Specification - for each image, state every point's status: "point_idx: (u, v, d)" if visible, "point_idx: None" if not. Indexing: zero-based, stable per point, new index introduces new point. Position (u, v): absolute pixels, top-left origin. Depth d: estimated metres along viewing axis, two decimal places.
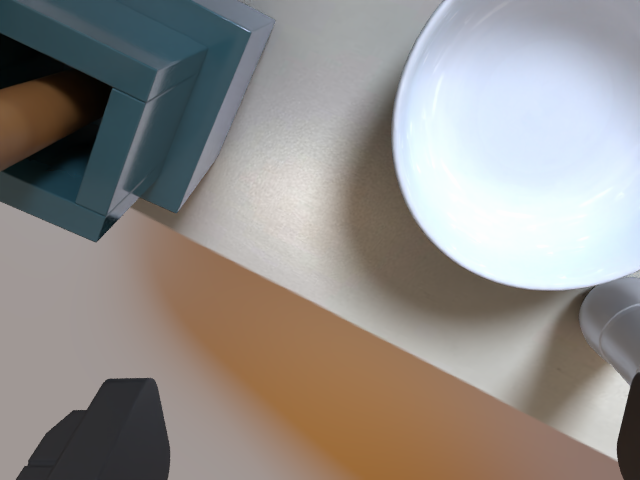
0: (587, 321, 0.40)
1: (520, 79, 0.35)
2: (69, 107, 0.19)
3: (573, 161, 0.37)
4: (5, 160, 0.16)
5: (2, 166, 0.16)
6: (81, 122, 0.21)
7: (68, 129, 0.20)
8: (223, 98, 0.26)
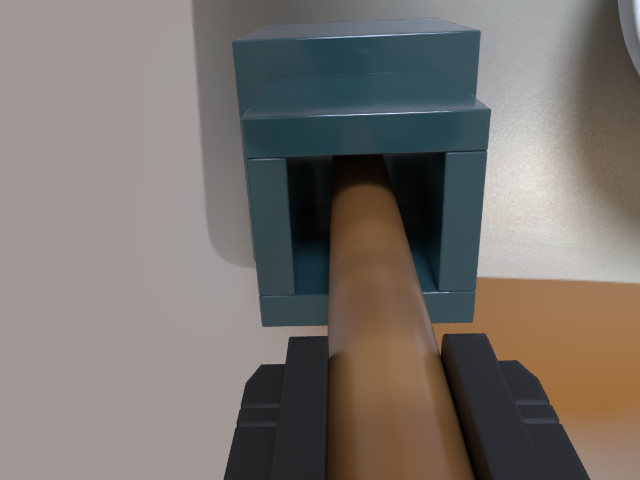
0: None
1: None
2: (393, 197, 0.17)
3: None
4: None
5: None
6: None
7: None
8: None
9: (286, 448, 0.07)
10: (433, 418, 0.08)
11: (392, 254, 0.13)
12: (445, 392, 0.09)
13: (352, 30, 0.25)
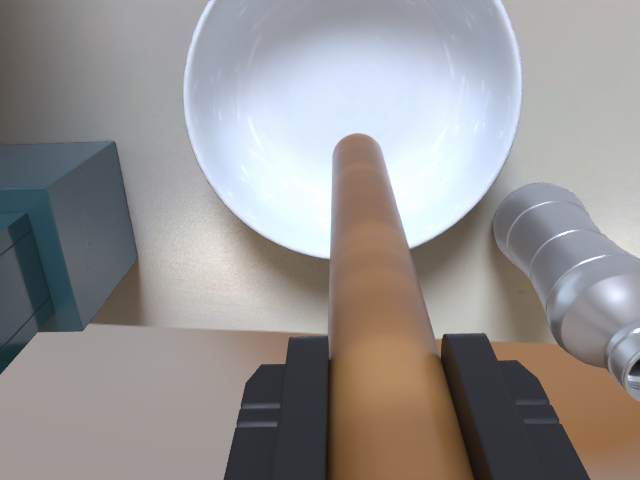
0: (498, 245, 0.41)
1: (313, 84, 0.39)
2: (393, 199, 0.17)
3: (402, 121, 0.40)
4: None
5: None
6: None
7: None
8: (58, 239, 0.33)
9: (286, 448, 0.07)
10: (432, 421, 0.08)
11: (392, 256, 0.13)
12: (445, 395, 0.09)
13: None
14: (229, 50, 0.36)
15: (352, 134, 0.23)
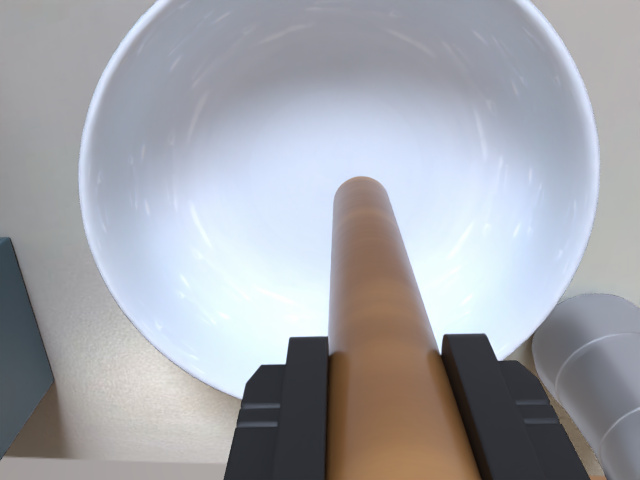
0: (541, 378, 0.30)
1: (284, 161, 0.27)
2: None
3: (410, 212, 0.28)
4: None
5: None
6: None
7: None
8: None
9: (286, 448, 0.07)
10: None
11: (427, 335, 0.10)
12: None
13: None
14: (158, 117, 0.24)
15: (367, 177, 0.21)
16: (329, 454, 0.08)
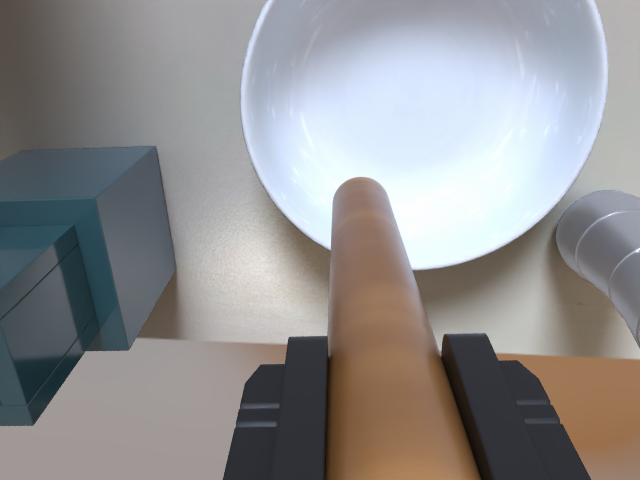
0: (563, 256, 0.39)
1: (372, 81, 0.36)
2: None
3: (464, 122, 0.37)
4: None
5: None
6: None
7: None
8: (106, 253, 0.31)
9: (285, 448, 0.07)
10: None
11: (431, 344, 0.10)
12: None
13: (31, 183, 0.33)
14: (287, 42, 0.34)
15: (368, 178, 0.21)
16: (330, 465, 0.07)
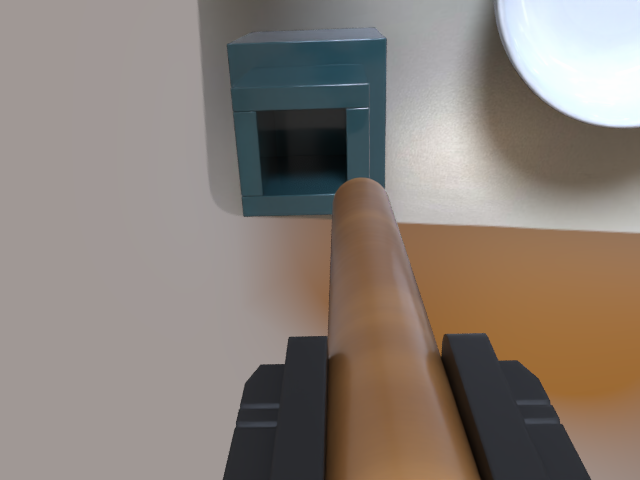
0: None
1: None
2: None
3: None
4: None
5: None
6: None
7: None
8: (385, 93, 0.35)
9: (285, 448, 0.07)
10: None
11: (431, 346, 0.10)
12: None
13: (307, 37, 0.37)
14: None
15: (368, 179, 0.21)
16: (331, 467, 0.07)
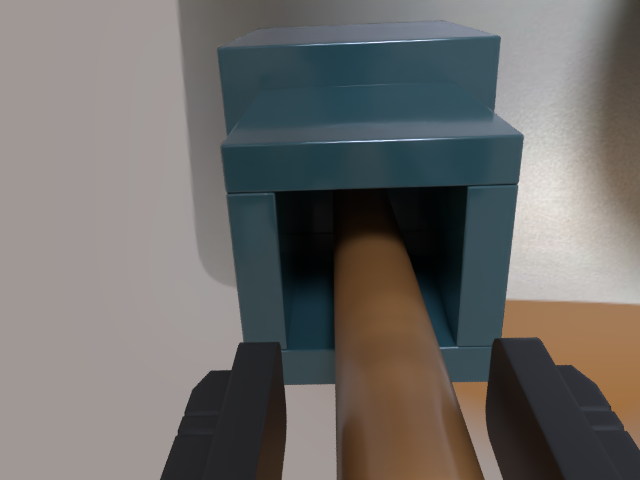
0: None
1: None
2: None
3: None
4: None
5: None
6: None
7: None
8: None
9: (219, 457, 0.07)
10: None
11: (436, 354, 0.10)
12: None
13: (353, 35, 0.22)
14: None
15: None
16: (346, 479, 0.08)
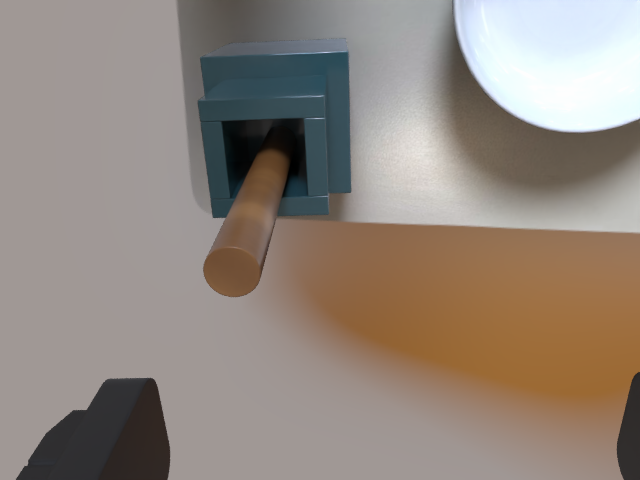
0: None
1: None
2: (287, 167, 0.33)
3: (616, 12, 0.44)
4: None
5: None
6: None
7: None
8: (348, 102, 0.38)
9: None
10: (262, 228, 0.23)
11: (273, 185, 0.28)
12: (269, 228, 0.24)
13: (277, 49, 0.39)
14: None
15: (283, 127, 0.39)
16: None
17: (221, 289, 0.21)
